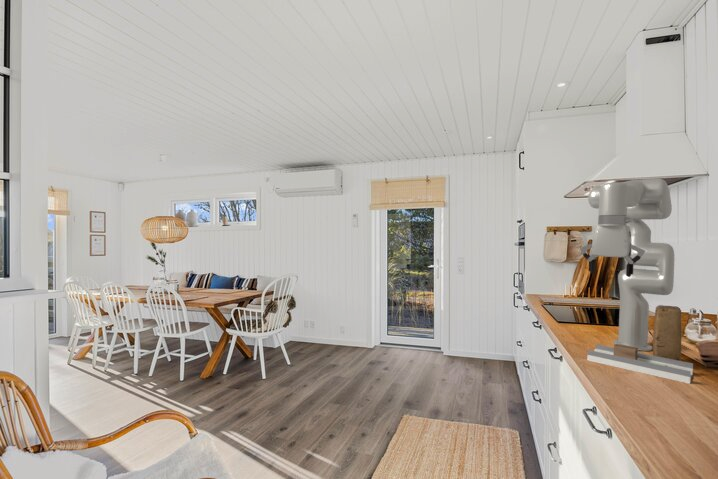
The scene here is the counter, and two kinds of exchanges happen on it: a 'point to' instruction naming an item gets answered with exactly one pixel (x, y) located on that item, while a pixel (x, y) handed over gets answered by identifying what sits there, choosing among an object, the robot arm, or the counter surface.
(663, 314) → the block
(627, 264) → the robot arm
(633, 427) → the counter surface
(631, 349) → the walnut block
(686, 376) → the board
